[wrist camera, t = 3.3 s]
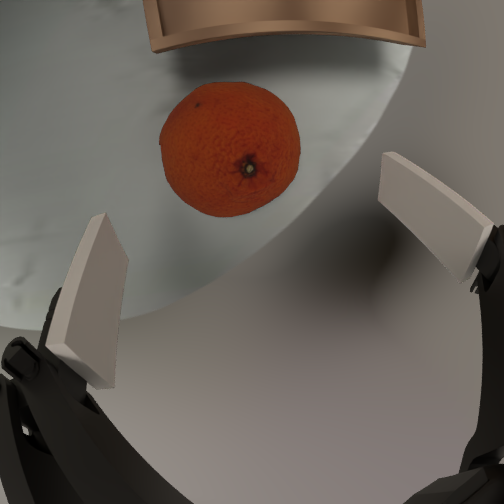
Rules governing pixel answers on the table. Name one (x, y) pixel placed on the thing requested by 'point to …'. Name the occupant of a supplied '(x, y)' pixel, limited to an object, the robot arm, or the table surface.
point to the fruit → (230, 148)
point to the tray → (281, 20)
